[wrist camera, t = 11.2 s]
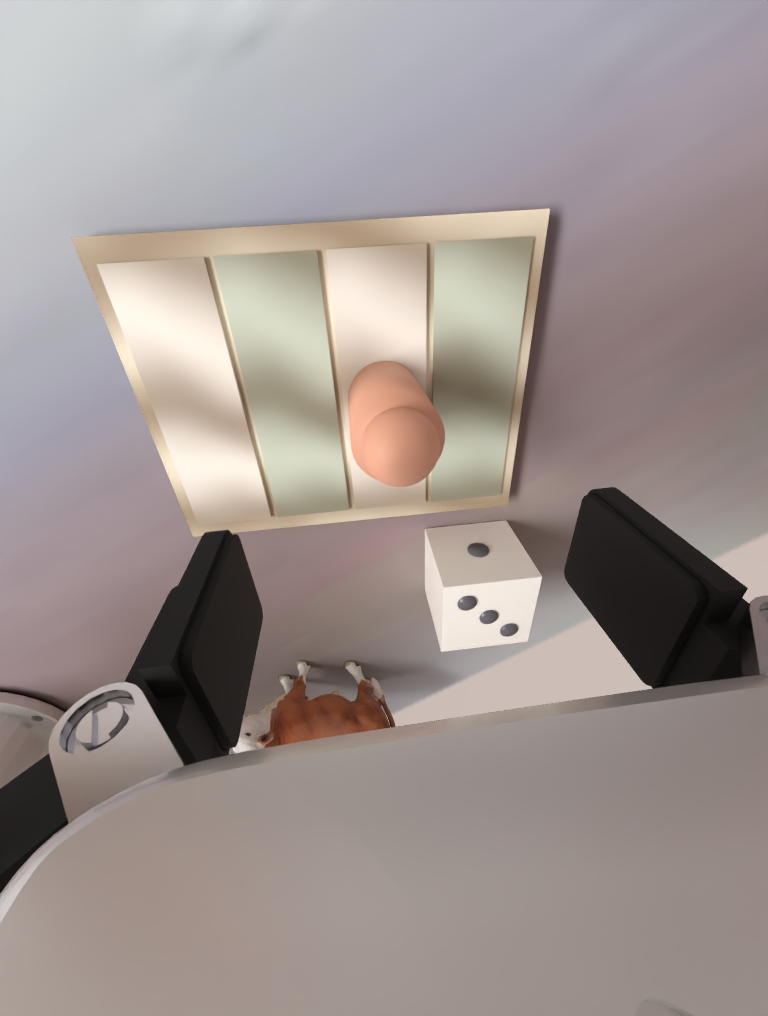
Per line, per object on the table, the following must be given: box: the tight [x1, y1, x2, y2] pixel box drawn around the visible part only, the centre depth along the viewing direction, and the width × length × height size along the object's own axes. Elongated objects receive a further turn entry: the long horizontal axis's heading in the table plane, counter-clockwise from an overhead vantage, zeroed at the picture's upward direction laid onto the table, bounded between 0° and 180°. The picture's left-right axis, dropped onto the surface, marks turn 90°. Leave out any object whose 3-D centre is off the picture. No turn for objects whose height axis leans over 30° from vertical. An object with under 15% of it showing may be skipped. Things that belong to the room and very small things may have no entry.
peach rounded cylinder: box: [348, 361, 445, 487], centre depth 18 cm, size 4×4×8 cm
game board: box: [71, 209, 550, 537], centre depth 22 cm, size 16×21×1 cm
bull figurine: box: [233, 660, 395, 753], centre depth 32 cm, size 4×13×8 cm, turn 73°
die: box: [425, 520, 542, 652], centre depth 27 cm, size 6×6×6 cm
